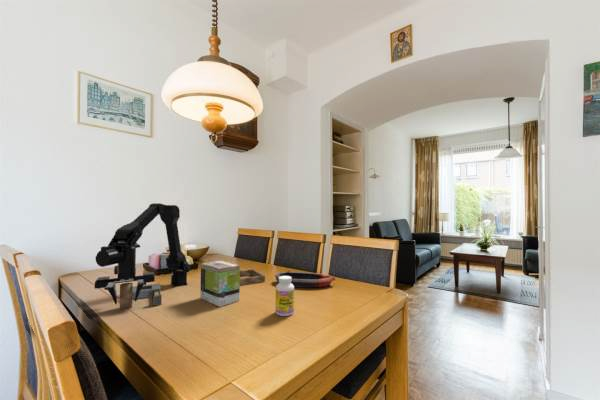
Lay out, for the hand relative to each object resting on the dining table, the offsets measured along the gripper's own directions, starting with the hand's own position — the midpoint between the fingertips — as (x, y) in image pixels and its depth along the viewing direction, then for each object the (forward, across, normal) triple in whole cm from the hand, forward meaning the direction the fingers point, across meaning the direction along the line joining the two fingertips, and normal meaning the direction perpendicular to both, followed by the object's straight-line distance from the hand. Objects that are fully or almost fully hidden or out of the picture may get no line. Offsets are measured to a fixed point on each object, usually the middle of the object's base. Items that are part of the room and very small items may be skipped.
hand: (126, 302), depth 101 cm
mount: (+2, -6, -14) cm, 15 cm away
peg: (+2, 0, 0) cm, 2 cm away
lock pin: (+2, -10, -3) cm, 11 cm away
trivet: (+2, -51, -16) cm, 53 cm away
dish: (+2, -75, +6) cm, 75 cm away
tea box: (+2, -33, +8) cm, 34 cm away
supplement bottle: (+2, -50, +34) cm, 61 cm away
